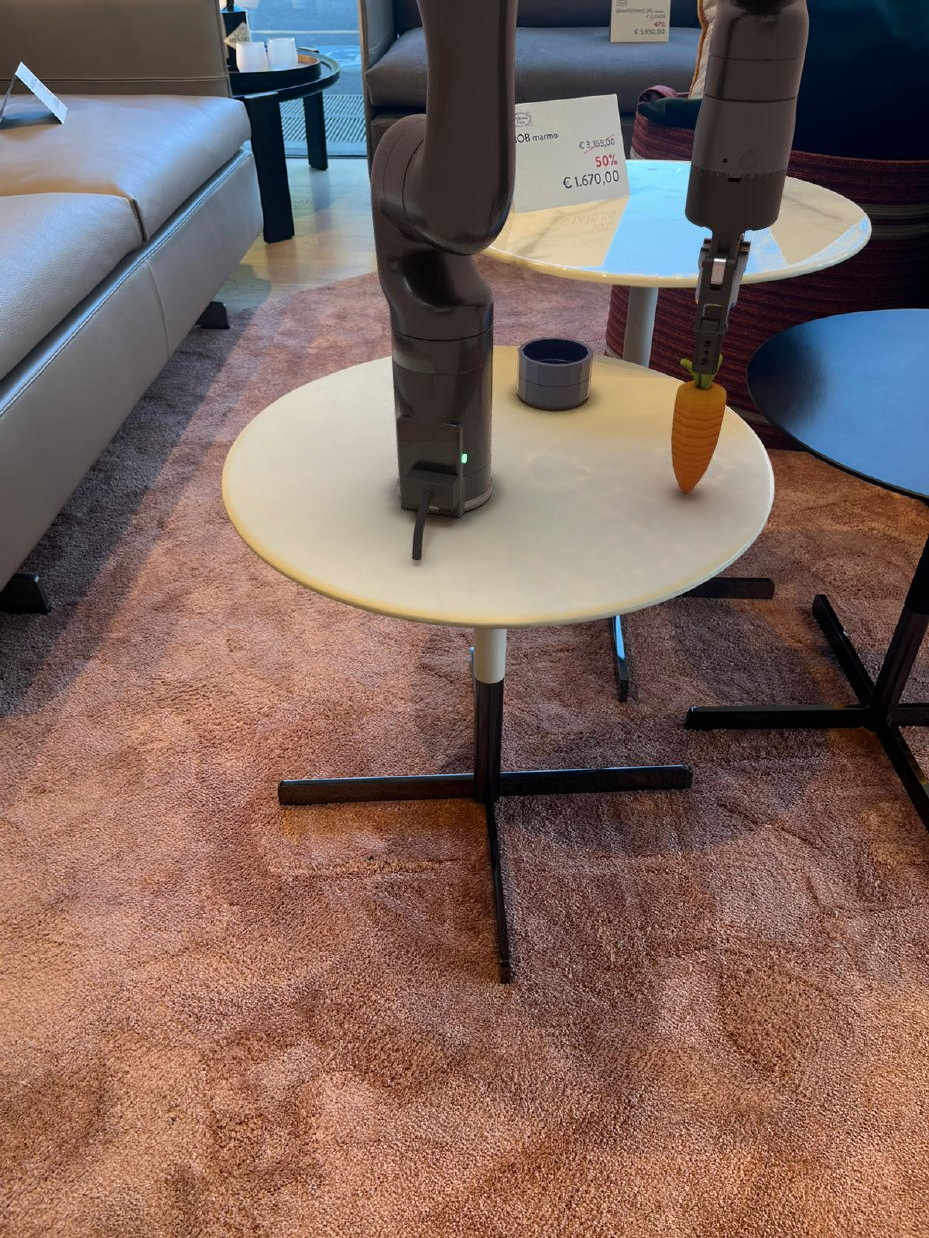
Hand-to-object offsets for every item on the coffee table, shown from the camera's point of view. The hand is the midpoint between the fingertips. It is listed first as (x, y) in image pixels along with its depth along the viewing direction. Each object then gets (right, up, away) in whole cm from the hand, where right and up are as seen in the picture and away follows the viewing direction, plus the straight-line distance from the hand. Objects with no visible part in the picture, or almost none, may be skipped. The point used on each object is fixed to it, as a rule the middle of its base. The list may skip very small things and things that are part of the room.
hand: (709, 353), depth 84 cm
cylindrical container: (-12, +3, +27) cm, 29 cm away
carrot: (0, -12, +9) cm, 15 cm away
